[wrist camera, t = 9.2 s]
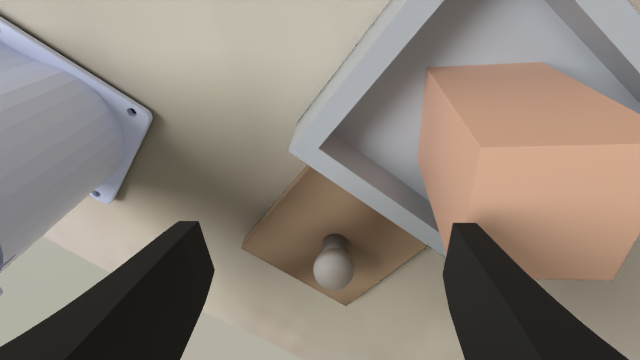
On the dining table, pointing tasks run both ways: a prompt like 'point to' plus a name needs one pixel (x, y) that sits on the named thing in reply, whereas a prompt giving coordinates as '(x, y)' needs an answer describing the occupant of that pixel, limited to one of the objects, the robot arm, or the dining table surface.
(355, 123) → the bin
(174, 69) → the dining table surface
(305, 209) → the stud plate
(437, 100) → the salmon brown block
